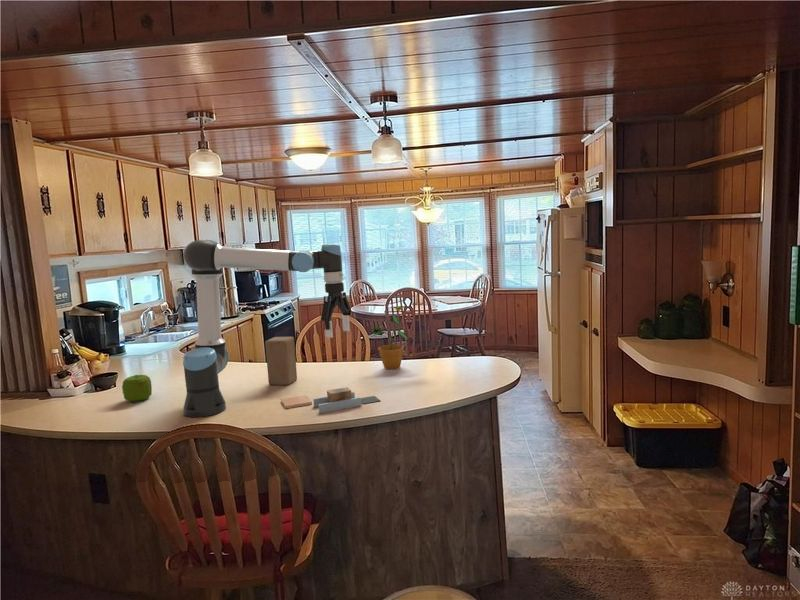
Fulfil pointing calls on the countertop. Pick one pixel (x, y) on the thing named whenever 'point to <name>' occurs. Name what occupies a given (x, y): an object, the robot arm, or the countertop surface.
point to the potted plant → (391, 346)
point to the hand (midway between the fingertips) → (338, 334)
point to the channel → (336, 403)
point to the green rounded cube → (137, 388)
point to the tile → (296, 401)
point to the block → (339, 394)
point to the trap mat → (369, 400)
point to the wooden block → (281, 360)
